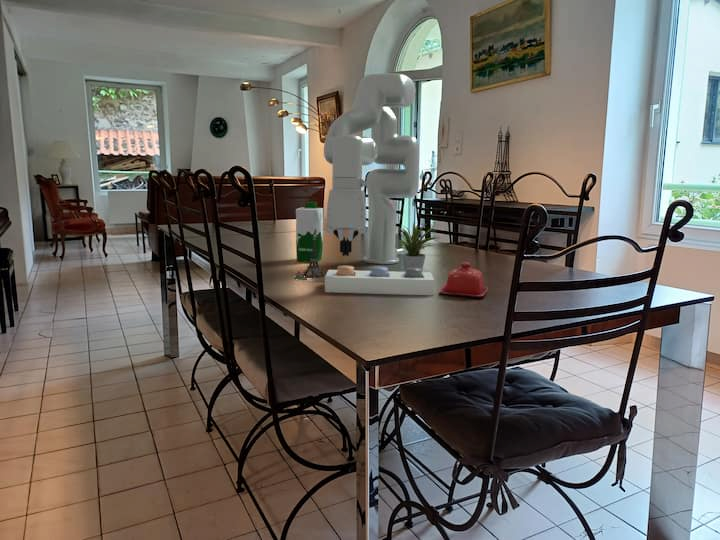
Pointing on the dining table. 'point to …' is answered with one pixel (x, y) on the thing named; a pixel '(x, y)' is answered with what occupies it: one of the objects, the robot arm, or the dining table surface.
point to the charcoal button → (413, 272)
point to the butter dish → (465, 282)
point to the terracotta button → (345, 271)
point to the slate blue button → (379, 271)
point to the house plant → (414, 247)
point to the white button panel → (379, 283)
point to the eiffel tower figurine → (311, 267)
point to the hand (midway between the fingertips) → (345, 255)
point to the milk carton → (309, 231)
